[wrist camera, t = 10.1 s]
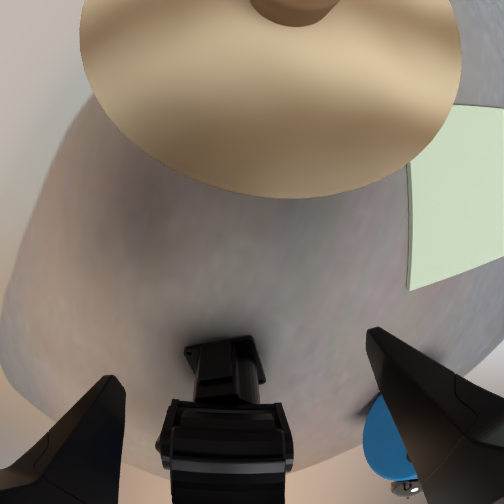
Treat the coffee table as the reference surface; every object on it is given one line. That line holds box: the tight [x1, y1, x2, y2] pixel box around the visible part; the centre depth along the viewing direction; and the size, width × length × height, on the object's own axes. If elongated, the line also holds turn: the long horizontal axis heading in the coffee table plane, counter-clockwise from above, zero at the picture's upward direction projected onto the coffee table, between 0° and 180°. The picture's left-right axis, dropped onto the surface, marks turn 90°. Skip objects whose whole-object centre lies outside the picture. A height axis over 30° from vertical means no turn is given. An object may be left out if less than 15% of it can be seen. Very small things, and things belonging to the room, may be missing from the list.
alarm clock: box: [363, 395, 423, 499], centre depth 24 cm, size 13×6×15 cm, turn 151°
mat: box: [407, 105, 504, 291], centre depth 20 cm, size 16×16×1 cm
